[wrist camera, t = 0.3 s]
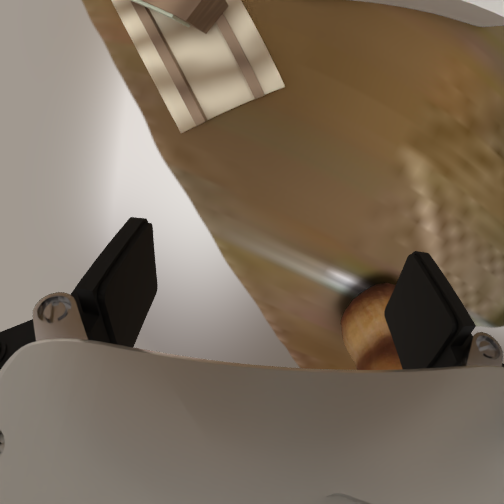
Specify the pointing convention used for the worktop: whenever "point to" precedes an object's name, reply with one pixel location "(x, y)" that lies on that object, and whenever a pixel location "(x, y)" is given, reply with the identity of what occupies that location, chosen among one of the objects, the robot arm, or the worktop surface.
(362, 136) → the worktop surface
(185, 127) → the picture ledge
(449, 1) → the white and blue box
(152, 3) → the brown rectangular block
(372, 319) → the tan lobed piece
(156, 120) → the worktop surface
